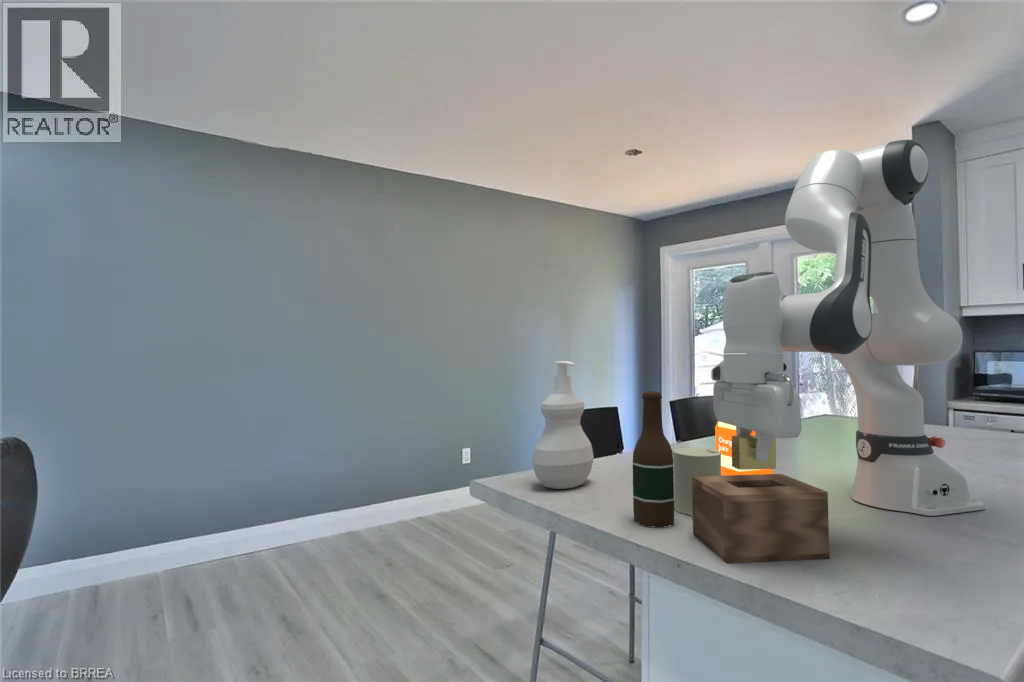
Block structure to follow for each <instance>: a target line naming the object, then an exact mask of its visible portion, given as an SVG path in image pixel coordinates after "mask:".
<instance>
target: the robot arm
mask: <svg viewBox="0 0 1024 682" xmlns="http://www.w3.org/2000/svg"><path fill="white" fill-rule="evenodd" d="M928 175H929V159H928V156H927V153H926V151H925V149H924V147H923V146H922V145H921V144H920V143H918V142H917V141H915V140H914V139H899V140H893V141H889V142H888V143H887V144H883V145H878V146H873V147H869V148H865V149H861V150H857V151H854V152H851V151H848V150H845V149H840V148H839V149H837V148H836V149H834V148H833V149H828V150H824V151H822V152H820V153H818V154H817V155H815V156H814V157H813V158H812V159H811V160H810V161H809V162H808V164H806V167H805V168H804V170H803V172H802V173H801V175H800V176H799V179H798V180H797V182H796V184H795V187H794V189H793V191H792V194H791V197H790V199H789V202H788V205H787V207H786V212H785V216H784V225H785V229H786V231H787V232H788V235H789V236H790V237H791V239H793V240H794V242H796V243H797V244H799V245H801V247H804V248H806V249H809V250H812V251H816V252H824V253H829V254H830V253H831V254H834V255H835V265H834V266H835V267H834V277H833V284H832V285H831V286H830V287H828V288H826V289H824V290H821V291H817V292H810V293H809V292H807V293H800V294H789V293H788V292H785V291H784V290H783V289H781V286H780V281H779V276H778V274H777V273H775V272H772V271H762V272H755V273H754V272H753V273H748V274H741V275H736V276H734V277H732V278H730V279H729V280H728V281H727V284H726V286H725V291H724V297H723V306H722V307H723V308H722V309H723V311H722V312H723V313H722V327H723V331H724V335H725V345H724V348H723V360H722V361H720V363H718V364H717V365H716V366H714V367H713V368H711V370H710V371H711V372H710V376H711V380H712V381H713V382H714V384H713V388H712V390H713V392H712V393H713V410H714V415H715V418H716V421H717V422H718V421H719V422H722V423H726V424H730V425H733V426H736V434H737V436H740V435H751V434H750V433H752V431H755V432H756V439H758V440H757V444H756V448H753V458H754V459H756V460H759V461H767V460H768V459H769V448H770V446H771V444H772V442H773V437H775V438H778V439H779V438H780V439H795V438H796V439H797V438H798V437H799V436H800V435H801V432H802V425H803V424H802V414H801V413H802V412H801V405H800V399H799V394H798V392H797V391H798V390H797V389H796V388H795V386H794V383H793V382H792V381H791V379H790V378H789V375H787V374H786V373H784V352H790V353H799V352H800V353H805V352H806V353H813V352H814V353H817V352H818V353H819V352H820V353H823V354H825V353H827V354H830V355H831V356H832V357H833V358H834V359H836V360H837V361H838V362H839V363H840V364H841V366H842V367H843V368H844V369H845V371H846V373H847V374H848V376H849V378H850V381H851V383H852V386H853V389H854V392H855V398H856V409H857V410H856V411H857V430H856V431H855V448H856V453H857V463H856V464H857V466H856V473H855V478H854V484H853V487H852V490H851V494H850V498H851V499H852V500H853V501H856V502H858V503H860V504H864V505H866V506H871V507H875V508H879V509H885V510H891V511H897V512H905V513H912V514H917V515H922V516H929V517H936V516H941V515H943V516H944V515H949V514H950V515H951V514H958V513H966V512H967V513H969V512H976V511H983V510H986V505H985V503H983V501H980V500H978V499H975V498H974V497H970V494H969V488H968V484H967V483H968V482H967V480H966V478H965V476H964V475H963V474H962V473H961V472H960V471H958V470H957V469H955V468H954V467H953V466H951V465H950V464H948V463H947V462H945V461H944V460H943V459H941V458H940V457H938V456H937V455H936V454H934V449H933V447H936V448H940V449H942V448H945V446H946V440H945V439H944V438H943V437H937V436H931V437H928V436H927V435H926V434H925V412H924V408H925V407H924V405H925V404H924V398H923V396H922V394H921V393H920V392H919V391H918V390H917V389H916V388H915V387H912V386H911V385H909V384H908V383H907V382H906V381H905V380H904V379H903V377H902V376H901V374H900V371H899V369H898V366H913V367H914V366H915V367H916V366H917V367H918V366H919V367H921V366H928V365H933V364H934V365H935V364H939V363H944V362H949V361H950V360H951V359H953V358H955V356H956V355H957V354H958V353H959V351H960V350H961V348H962V344H963V337H964V336H963V330H962V327H961V325H960V323H959V322H958V320H957V319H955V317H954V316H952V314H950V313H948V312H947V311H944V310H943V309H942V308H940V307H939V306H938V305H936V303H935V302H934V301H933V300H932V298H931V297H930V296H929V295H928V294H929V293H927V291H926V289H925V287H924V285H923V281H922V279H921V274H920V267H919V266H920V265H919V258H918V256H919V255H918V247H917V230H916V224H915V217H914V214H913V210H912V207H911V203H912V202H913V200H914V198H915V196H916V195H917V194H918V193H919V192H920V191H921V190H922V188H923V187H924V185H925V183H926V182H927V179H928ZM870 299H872V300H873V303H874V304H875V307H876V312H874V313H873V312H872V308H871V300H870Z"/></svg>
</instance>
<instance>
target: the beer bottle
mask: <svg viewBox="0 0 1024 682" xmlns="http://www.w3.org/2000/svg"><path fill="white" fill-rule="evenodd" d="M641 398H642V399H643V408H642V409H643V410H642V429H641V435H640V436H639V438H638V439H637V441H636V442H635V443H636V444H635V445H634V449H633V452H632V497H633V498H632V499H633V500H632V501H633V502H632V503H633V504H632V505H633V506H632V507H633V510H632V512H633V521H634V522H635V523H636V522H638V523H637V524H639V523H640V524H639V525H641V524H642V525H641V526H644V525H645V526H644V527H648V526H655V527H654V528H660V527H662V528H665V527H664V526H667V527H670V526H669V525H671V526H674V523H675V521H674V520H675V509H674V461H673V449H672V446H671V444H670V441H669V440H668V439H667V437H666V436H665V434H664V427H663V420H662V403H661V399H662V398H663V396H662V393H661V391H655V390H653V391H652V390H650V391H649V390H647V391H644V392H643V393H642V396H641Z"/></svg>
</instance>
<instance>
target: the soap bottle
mask: <svg viewBox="0 0 1024 682" xmlns="http://www.w3.org/2000/svg"><path fill="white" fill-rule="evenodd" d="M554 365H557V376H554V377H553V378H554V382H553V383H554V388H553V391H552V393H551V394H550V395H548V396H547V397H546V398H545V399H544V400H543V402H541V405H540V411H541V415H542V416H543V417H544V419H545V427H544V429H543V432H542V434H541V436H540V437H539V439H538V441H537V443H536V444H535V446H534V449H533V457H532V467H533V471H534V474H535V477H536V478H537V480H538V481H539V482H540V483H541V484H542V485H543V486H544V487H546V488H550V489H555V490H568V489H573V488H577V487H578V486H582V485H583V484H585V482H586V480H587V479H588V477H589V476H590V474H591V472H592V468H593V463H594V459H595V458H594V457H595V456H594V451H593V445H592V442H591V441H590V439H589V438H588V436H587V434H586V433H585V431H584V430H583V427H582V425H581V418H582V416H583V413H584V411H585V404H584V401H583V400H582V399H581V397H579V396H578V395H576V394H575V393H574V392H573V389H572V386H571V384H572V383H571V382H572V380H571V379H572V378H571V376H570V375H568V366H575V365H576V364H575V363H574V362H572V361H568V360H564V361H563V360H559V361H557V360H556V361H554Z"/></svg>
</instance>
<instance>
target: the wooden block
mask: <svg viewBox="0 0 1024 682" xmlns="http://www.w3.org/2000/svg"><path fill="white" fill-rule="evenodd" d="M776 438H777V437H773V442H772V444H771V446H770V448H769V459H768V460H767V461H759V460H756V459H754V458H753V448H756V444H757V440H758V439H756V435H740V436H732V467H735V468H737V469H739V470H753V469H773V470H777V456H776V455H777V451H776V449H777V444H776V443H777V441H776V440H777V439H776Z"/></svg>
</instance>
